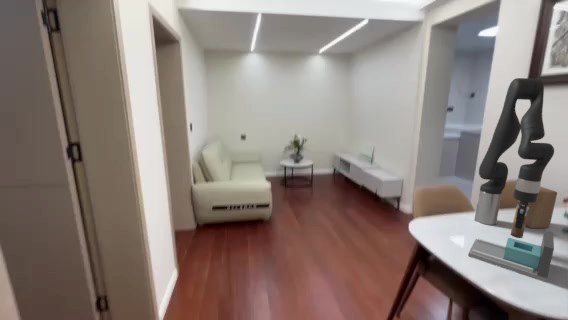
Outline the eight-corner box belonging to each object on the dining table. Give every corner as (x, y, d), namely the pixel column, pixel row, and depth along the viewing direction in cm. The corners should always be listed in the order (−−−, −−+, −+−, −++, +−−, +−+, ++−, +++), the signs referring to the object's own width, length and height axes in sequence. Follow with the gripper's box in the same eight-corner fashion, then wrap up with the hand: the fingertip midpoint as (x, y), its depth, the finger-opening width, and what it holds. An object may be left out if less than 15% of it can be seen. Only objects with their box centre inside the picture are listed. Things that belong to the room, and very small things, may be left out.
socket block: (503, 260, 105) (505, 246, 104) (505, 250, 112) (508, 237, 110) (537, 270, 98) (540, 256, 97) (537, 259, 105) (540, 246, 103)
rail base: (468, 256, 111) (472, 227, 108) (475, 241, 122) (479, 215, 119) (546, 282, 94) (554, 248, 91) (546, 262, 105) (553, 232, 102)
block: (530, 229, 133) (538, 192, 128) (513, 220, 143) (520, 185, 138) (550, 228, 133) (558, 191, 128) (532, 220, 143) (539, 185, 138)
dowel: (510, 235, 115) (515, 208, 112) (511, 232, 117) (516, 206, 114) (522, 239, 112) (528, 211, 109) (522, 235, 115) (529, 208, 112)
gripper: (538, 196, 102) (529, 235, 106) (539, 187, 112) (531, 223, 116) (513, 191, 107) (505, 228, 111) (516, 183, 117) (509, 218, 121)
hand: (518, 225), depth 114 cm, fingers closed on dowel, 4 cm apart
